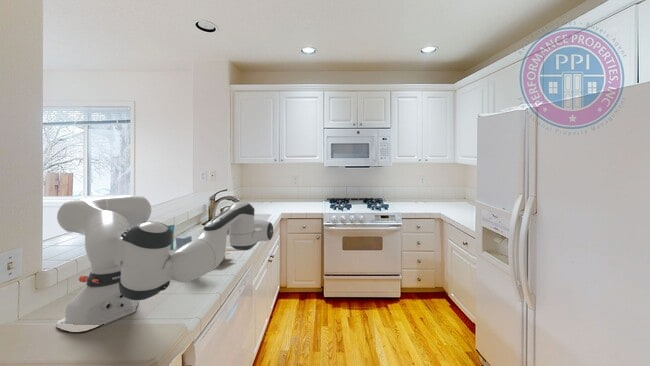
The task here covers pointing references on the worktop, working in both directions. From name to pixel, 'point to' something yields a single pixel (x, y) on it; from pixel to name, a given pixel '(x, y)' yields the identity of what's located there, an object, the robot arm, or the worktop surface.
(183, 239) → the box
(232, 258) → the worktop surface
